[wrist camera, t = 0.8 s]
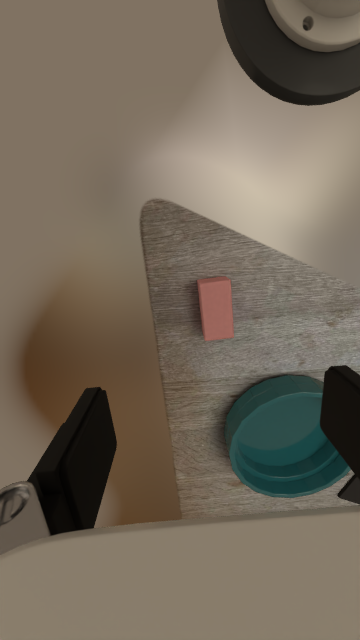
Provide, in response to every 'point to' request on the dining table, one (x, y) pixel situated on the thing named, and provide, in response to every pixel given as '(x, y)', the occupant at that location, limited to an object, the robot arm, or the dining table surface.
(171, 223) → the dining table surface
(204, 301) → the eraser
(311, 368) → the dining table surface
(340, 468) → the bowl
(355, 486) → the mat
